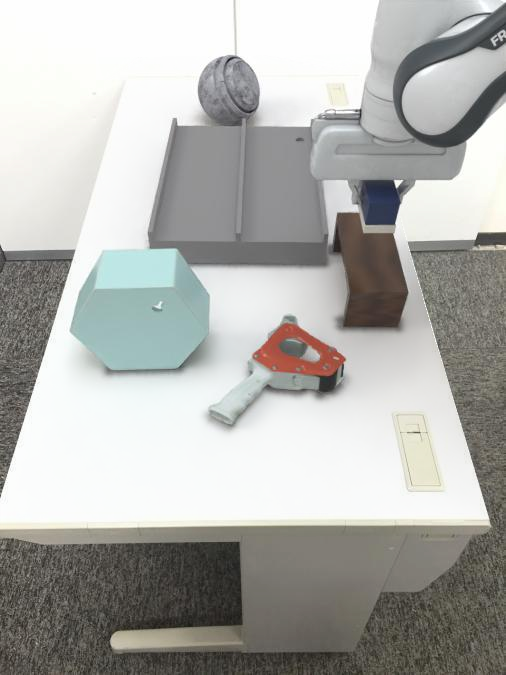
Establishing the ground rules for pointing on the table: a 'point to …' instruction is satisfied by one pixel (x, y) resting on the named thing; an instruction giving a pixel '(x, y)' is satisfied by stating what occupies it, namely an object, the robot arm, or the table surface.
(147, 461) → the table surface
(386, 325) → the brown wooden block
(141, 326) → the cyan faceted polyhedron
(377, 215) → the navy lidded box
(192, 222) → the desk organizer
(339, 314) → the table surface
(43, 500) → the table surface
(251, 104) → the decorative orb
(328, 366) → the tape dispenser
